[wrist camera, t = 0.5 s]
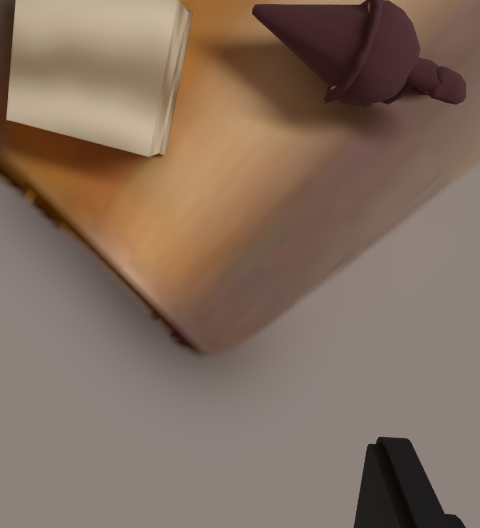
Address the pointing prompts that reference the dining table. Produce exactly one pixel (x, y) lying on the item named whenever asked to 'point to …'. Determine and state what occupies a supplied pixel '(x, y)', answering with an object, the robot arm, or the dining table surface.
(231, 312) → the dining table surface
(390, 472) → the robot arm
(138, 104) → the base
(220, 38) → the dining table surface
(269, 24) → the icecream
